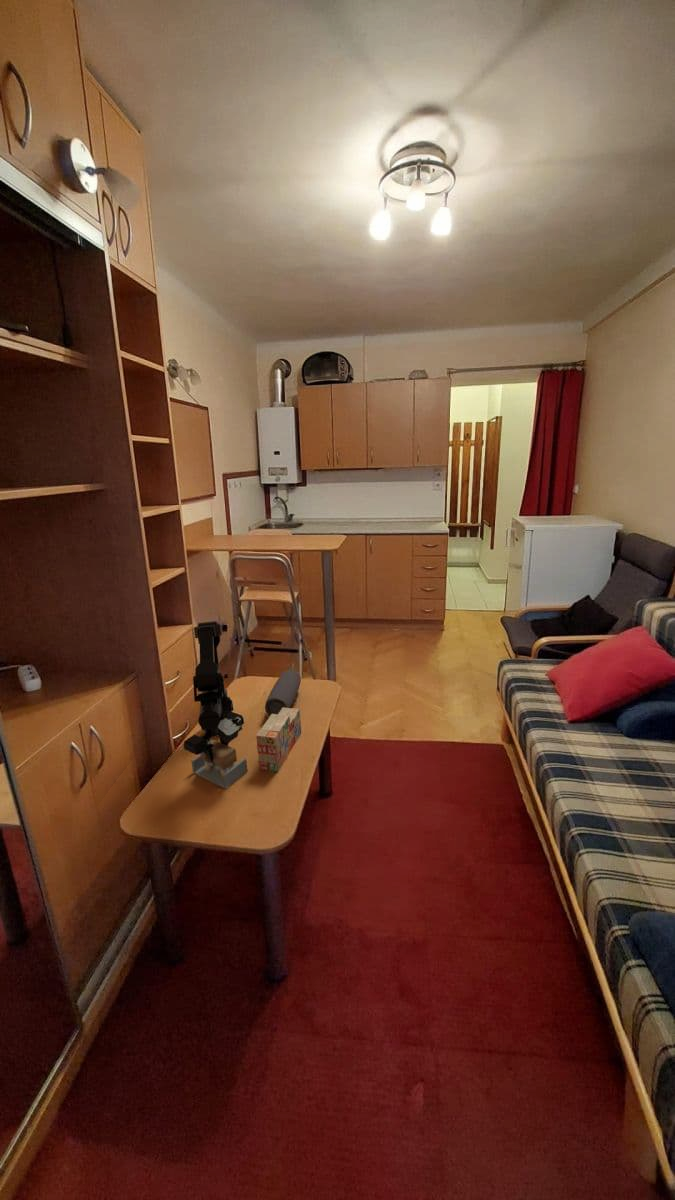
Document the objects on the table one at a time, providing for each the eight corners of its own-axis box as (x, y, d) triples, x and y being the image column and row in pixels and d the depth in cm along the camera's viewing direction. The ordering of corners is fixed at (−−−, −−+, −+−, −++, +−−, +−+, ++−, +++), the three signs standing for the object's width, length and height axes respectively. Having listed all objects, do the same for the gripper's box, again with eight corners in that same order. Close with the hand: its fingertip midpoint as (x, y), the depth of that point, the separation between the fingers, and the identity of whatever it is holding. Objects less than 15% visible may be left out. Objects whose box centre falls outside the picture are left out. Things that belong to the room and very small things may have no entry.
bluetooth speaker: (280, 690, 189) (278, 668, 186) (302, 691, 187) (301, 668, 184) (264, 721, 167) (261, 696, 164) (289, 722, 166) (287, 697, 163)
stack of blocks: (284, 730, 161) (282, 699, 157) (301, 732, 159) (299, 700, 156) (259, 769, 141) (255, 734, 138) (278, 772, 140) (275, 737, 136)
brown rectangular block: (201, 759, 140) (199, 747, 139) (213, 750, 144) (212, 739, 143) (224, 769, 135) (223, 758, 134) (236, 760, 139) (235, 749, 138)
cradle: (193, 772, 141) (191, 760, 140) (215, 756, 148) (213, 745, 147) (225, 788, 134) (224, 776, 132) (247, 771, 141) (246, 758, 139)
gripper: (206, 734, 123) (213, 783, 128) (254, 703, 138) (259, 748, 142) (178, 723, 129) (186, 770, 133) (227, 694, 143) (233, 737, 148)
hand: (218, 756), depth 139 cm, fingers open, 5 cm apart
